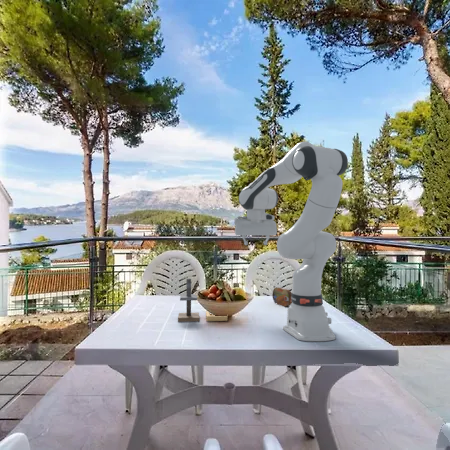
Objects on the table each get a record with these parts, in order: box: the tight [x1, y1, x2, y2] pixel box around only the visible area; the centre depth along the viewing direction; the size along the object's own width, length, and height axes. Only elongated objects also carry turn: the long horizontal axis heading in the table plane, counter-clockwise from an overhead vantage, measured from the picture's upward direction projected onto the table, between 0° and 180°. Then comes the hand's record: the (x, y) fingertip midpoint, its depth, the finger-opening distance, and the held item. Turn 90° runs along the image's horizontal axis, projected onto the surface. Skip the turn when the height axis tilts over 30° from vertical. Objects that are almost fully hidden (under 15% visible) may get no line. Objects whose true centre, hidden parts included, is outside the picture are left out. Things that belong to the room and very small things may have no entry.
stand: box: [177, 278, 200, 323], centre depth 167 cm, size 9×9×18 cm
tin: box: [271, 287, 292, 307], centre depth 194 cm, size 15×3×8 cm, turn 25°
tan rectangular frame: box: [205, 310, 228, 322], centre depth 170 cm, size 14×9×2 cm, turn 5°
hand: (255, 244), depth 185 cm, fingers open, 8 cm apart
